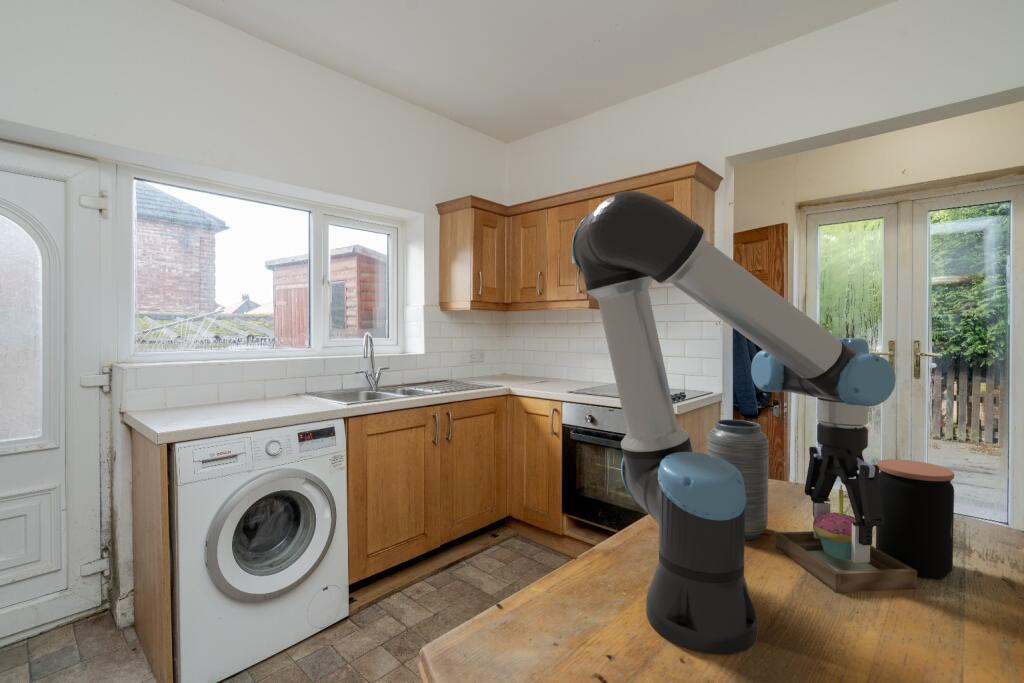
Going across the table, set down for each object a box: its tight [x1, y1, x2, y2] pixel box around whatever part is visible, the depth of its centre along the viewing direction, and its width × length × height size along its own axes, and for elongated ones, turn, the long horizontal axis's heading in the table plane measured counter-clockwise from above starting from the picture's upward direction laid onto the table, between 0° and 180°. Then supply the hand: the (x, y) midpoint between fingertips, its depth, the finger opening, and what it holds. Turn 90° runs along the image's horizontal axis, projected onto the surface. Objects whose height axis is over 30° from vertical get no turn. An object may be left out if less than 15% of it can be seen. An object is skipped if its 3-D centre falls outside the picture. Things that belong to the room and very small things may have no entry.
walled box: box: [775, 530, 918, 593], centre depth 86 cm, size 14×16×3 cm
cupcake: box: [812, 484, 856, 560], centre depth 86 cm, size 9×8×12 cm
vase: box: [707, 419, 770, 541], centre depth 101 cm, size 12×12×23 cm
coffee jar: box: [875, 458, 955, 580], centre depth 86 cm, size 11×11×18 cm
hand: (840, 548), depth 86 cm, fingers closed on cupcake, 9 cm apart
